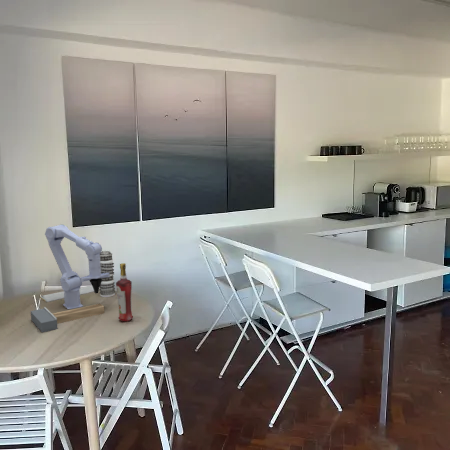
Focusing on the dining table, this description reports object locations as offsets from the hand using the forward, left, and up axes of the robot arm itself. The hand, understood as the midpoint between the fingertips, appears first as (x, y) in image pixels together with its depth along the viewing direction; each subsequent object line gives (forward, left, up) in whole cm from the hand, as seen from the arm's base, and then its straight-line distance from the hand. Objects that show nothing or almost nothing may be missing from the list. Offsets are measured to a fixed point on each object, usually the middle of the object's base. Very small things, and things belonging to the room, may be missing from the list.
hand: (96, 292), depth 242 cm
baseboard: (-36, -3, -10) cm, 38 cm away
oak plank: (+3, -13, -9) cm, 16 cm away
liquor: (+22, +6, -10) cm, 25 cm away
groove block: (+3, -27, -9) cm, 29 cm away
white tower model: (-22, +14, -10) cm, 28 cm away
